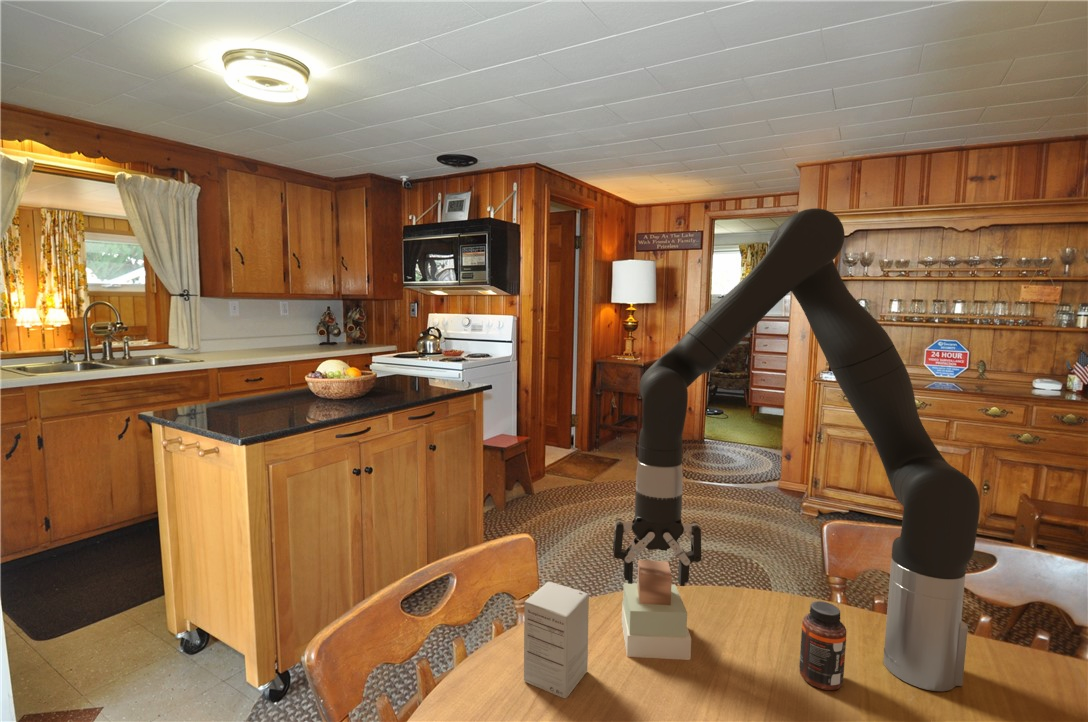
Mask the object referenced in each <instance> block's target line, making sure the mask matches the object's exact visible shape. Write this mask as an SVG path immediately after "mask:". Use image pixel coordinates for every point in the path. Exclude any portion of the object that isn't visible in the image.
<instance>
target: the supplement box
mask: <svg viewBox="0 0 1088 722" xmlns="http://www.w3.org/2000/svg"><path fill="white" fill-rule="evenodd" d="M589 596H590V594H589V593H587V592H585V591H582V590H579V589H576V588H572V587H568V586H566V585H561V584H559V583H555V582H552V581H547V582H546V583H545V584H544V585H542V586H541V587H540V588H539V589H537V591H535V592H534V593H533V594H532V595H530V596H529V597H528V598H527V599H526V600H524V610H523V611H524V614H523V615H524V620H523V621H524V622H523V623H524V625H523V626H524V628H523V629H524V630H523V635H524V636H523V681H524V682H525V683H527V684H529V685H531V686H534V687H537V688H538V689H541V690H544V691H545V692H547V693H551V694H552V695H555V696H557V697H559V698H563V699H568V697H569V695H570V694H571V693H572V692H573V691H574V689H575V688H576V687H577V686H578V683H580V682H581V680H582V679H583V677H584V676H585V675H586V673H587V672H588V670H589V669H588V662H589V661H588V660H589V658H588V656H589V655H588V654H589V649H588V648H589V609H590V607H589V606H590V603H589V602H590V600H589V599H590V597H589Z"/></svg>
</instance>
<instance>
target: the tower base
mask: <svg viewBox="0 0 1088 722" xmlns="http://www.w3.org/2000/svg"><path fill="white" fill-rule="evenodd" d="M621 626H622V631H623V638H624V645H625V652H626V657H630V658H647V659H648V658H649V659H663V660H664V659H667V660H685V661H686V660H687V661H690V660H691V656H692V655H691V653H692V637H691V634H690V631H689V629H688V627H687V633H686V637H680V636H648V635H630V634H629V630H628V625H627V621H626V616H625V612H624V607H623V601H622V602H621Z"/></svg>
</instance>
